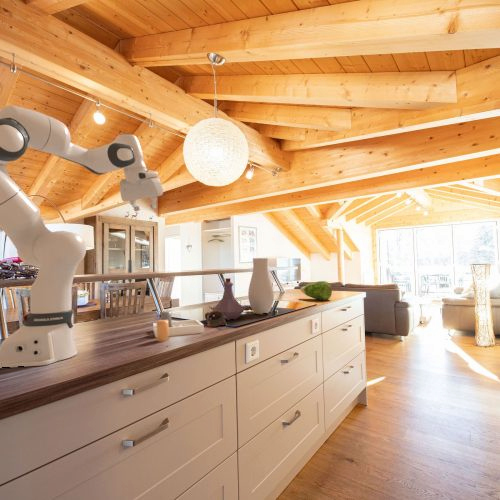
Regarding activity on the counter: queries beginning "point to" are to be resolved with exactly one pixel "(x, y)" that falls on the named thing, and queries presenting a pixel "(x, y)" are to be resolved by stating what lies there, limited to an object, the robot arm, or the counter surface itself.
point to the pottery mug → (215, 318)
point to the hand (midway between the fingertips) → (145, 209)
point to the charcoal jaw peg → (166, 316)
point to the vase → (260, 287)
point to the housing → (183, 327)
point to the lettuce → (318, 290)
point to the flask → (229, 303)
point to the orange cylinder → (162, 330)
